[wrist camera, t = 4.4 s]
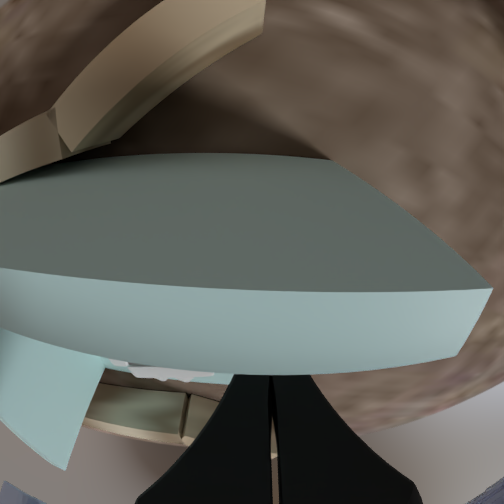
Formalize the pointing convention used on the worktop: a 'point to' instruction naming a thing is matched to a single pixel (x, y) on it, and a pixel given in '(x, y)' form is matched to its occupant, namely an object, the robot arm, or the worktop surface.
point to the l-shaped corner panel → (210, 280)
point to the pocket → (115, 126)
